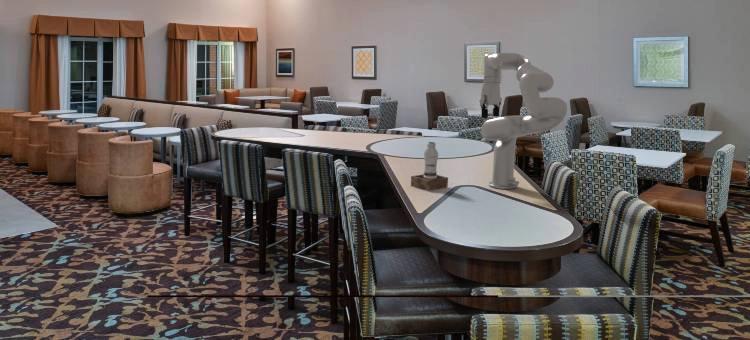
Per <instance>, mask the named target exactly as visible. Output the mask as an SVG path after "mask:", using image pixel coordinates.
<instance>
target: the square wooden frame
mask: <svg viewBox="0 0 750 340" xmlns="http://www.w3.org/2000/svg"><path fill="white" fill-rule="evenodd" d="M423 176H424V173H422V174H416V175H411V176H410V186H411V187H414V188H418V189H421V190H425V191H429V192H430V191H434V190H439V189H445V188H448V186H449V184H448V183H449V177H447V176H443V175H439V174H437V179H433V180H426V179H423Z"/></svg>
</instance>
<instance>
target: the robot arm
mask: <svg viewBox="0 0 750 340" xmlns="http://www.w3.org/2000/svg"><path fill="white" fill-rule="evenodd" d="M483 60H484V61H483V83H482V87H481V93H480V99H479V105H480V110H481V118H482V119H487V120H485V121H484V122H483V124H482V125H481V128H480V131H481V136H482V137H483V138H484V139H485V140H486V141H492V142H493V141H496V142H495V145H494V147H493V160H492V161H493V162H492V163H493V164H492V178H491V181H490V182H488V186H489V187H491V188H494V189H500V190H508V189H509V190H512V189H515V188H517V187H518V186H519V184H520V181H517V180H516V177H515V158H516V157H515V156H516V146H517V145H516V144H517V139H518V138H520V137H525V136H528V135H534V134H538V133H539V134H540V133H544V132H546V131H550V130H552V129H554V128H556V127H557V126H559V125H560V124H561V123H562V122H563V121H564V119H565V118H566V115H567V113H568V105H567V102H566V101H565V100H564V99H562V98H559V97H548V96H547V97H541V95H540V94H542V93H546V92H548V91H551V89H552V88H553V86H554V83H555V81H554V78H553V76H552V75H550V74H549V73H548V72H546V71H544V70H542V69H540V68H538V67H537V66H535V65H533V64H532V63H531V61H530V59H528V57H525V56H524V55H522V54H521V53H520V54H519V53H516V52H497V53H486V54H485V55H484V58H483ZM502 70H503V71H505V70H510V71H511V70H513V71H515V72H516V80H517V81H518V83H519V89H520V93H521V96H522V100H523V103H524V105H525V109H526V111H527V113H528V114H526V115H504V116H500V109H501V105H502V100H503V98H502V97H501V71H502ZM490 106H493V107H492V117H495V118H489V119H488V117H489V109H488V108H489V107H490Z"/></svg>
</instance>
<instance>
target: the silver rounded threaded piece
mask: <svg viewBox="0 0 750 340" xmlns="http://www.w3.org/2000/svg"><path fill="white" fill-rule="evenodd" d="M426 146H427V147H426V149H425V151H424V153H423V158H424V172H423V174H424V176H423V179H426V180H433V179H437V175H438V174H437V165H438V158H439V152H438V150H437V148H436V142H435V141H434V142H433V141H429V142H427V144H426Z"/></svg>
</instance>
